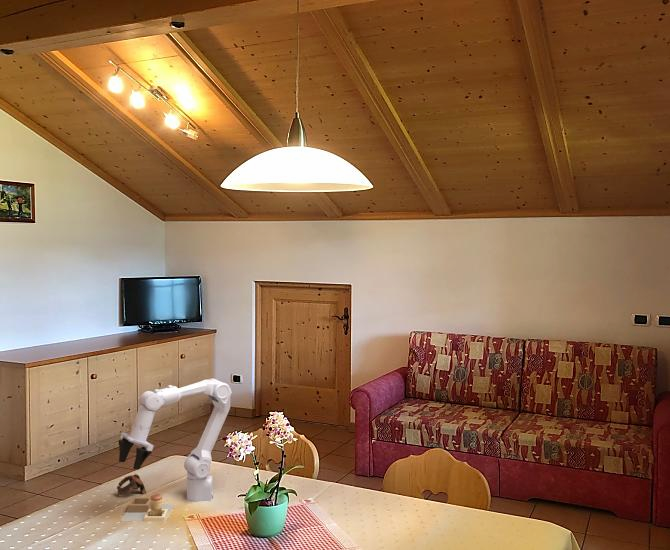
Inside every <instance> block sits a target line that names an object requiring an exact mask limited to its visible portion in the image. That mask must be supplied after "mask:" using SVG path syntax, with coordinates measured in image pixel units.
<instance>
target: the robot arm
mask: <svg viewBox="0 0 670 550" xmlns="http://www.w3.org/2000/svg"><path fill="white" fill-rule="evenodd" d="M198 394H199V395H200V394H205V395H207V396H208V397H209V398H210V400H211V402H212V404H213V406H214V407H213V409H212V411H211V415H210V417H209V418H208V421H207V423H206V426H205V428H204V431H203V433H202V435H201V437H200V439H199V442H198V444H197V446H196V447H195V448H194V449H192V450H191V452H190V454H189V455H188V456H187V457H186V458H185V459H184V462H183V467H184V469H185V471H186V500H187V501H188V502H196V503H197V502H212V499H213V497H214V476H212V475H209V474H210V471H211V463H212V461H213V459H212V454H211V453H212V451H213V449H214V446H215V444H216V442H217V439H218V437H219V435H220V432H221V430H222V427H223V425H224V423H225V421H226V418H227V417H228V414H229V411H230V409H231V396H232V394H233V391H232V389H231V387H230V385H229V384H228V383H226V382H222V381H220V380H218V379H216V378H208V379H203V380H201V381H198V382H195V383H192V384H191V383H190V384H188V385H185V386H182V387H179V388H178V387H177V386H175V385H172V384H169V385H167V387H164V388H160V389H159V388H156V389H154V391H151V390H147V391H144V392H143V393H142V394H141V396H139V397H138V402H139V408H138V411H137V414H136V416H135V419H134V422H133V424H132V428H131V431H130V434H129V433H127V432H121V434H120V437H119V438H120V439H118V442H117V443H118V447H119V456H118V462H119V463H125V462H126V461H127V458H128V455H129V453H130V451H131V449H132V448H133V446H134V445H136V446H138V447H136V449H135V451H136V455H135V459H134V463H133V469H134V470H140V468H141V467H142V465H143V464H144V462H145V461H146V460H147V458H148V457H149V456H150V455H152V453H153V449H154V446H155V445H153V444H152V443H150V442H149V441H147V439H148V436H149V432H150V430H151V426H152V424H153V420H154V418H155V414H156V412H157V410H159V409H160V408H161V407H164V406H167V405H171V404H174V403H178V402H179V401H180V399H181V398H184V397H189V396H193V395H198Z"/></svg>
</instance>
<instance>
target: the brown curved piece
mask: <svg viewBox="0 0 670 550" xmlns="http://www.w3.org/2000/svg"><path fill="white" fill-rule="evenodd" d="M128 481H129V483H128V484H126V485H125V486H123V485H124V484H125V483H127V482H128ZM122 486H123V487H122ZM116 489H117V495H118V496H122V495H125V494H128V495H129V494H130V495H131V489H133V490H140V492H141V491H142V492H141V494H143V495H147V491H146V487H145V485H144V482H143V481H142V479H141V477H140V476H139V475H138V474H136V473H134V475H132V474H131V475H126V476H125V477H124V478H122V479H120V481H119V482H118V485H117V486H116Z"/></svg>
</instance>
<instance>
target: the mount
mask: <svg viewBox="0 0 670 550" xmlns="http://www.w3.org/2000/svg"><path fill="white" fill-rule="evenodd" d="M174 507H175V504H173V503H169V504H165V503H164V504H163V503H162V516H151V496H150V497H149V496H146V497H143V496H142V497H141V496H139V497H132V498H131V499H130V501H129V503H128V504H127V511H125V513H124V515H123V516H122V518H121V519H120V522H167V520H168V518H169V516H170V514H171V512H172V510H173V508H174Z"/></svg>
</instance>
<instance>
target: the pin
mask: <svg viewBox="0 0 670 550" xmlns="http://www.w3.org/2000/svg"><path fill="white" fill-rule="evenodd" d="M150 497H151V516H162V504H163V503H162V502H163V501H162V497H163V496H162V494H158V493H157V494H156V493H155V494H151V495H150Z"/></svg>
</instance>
